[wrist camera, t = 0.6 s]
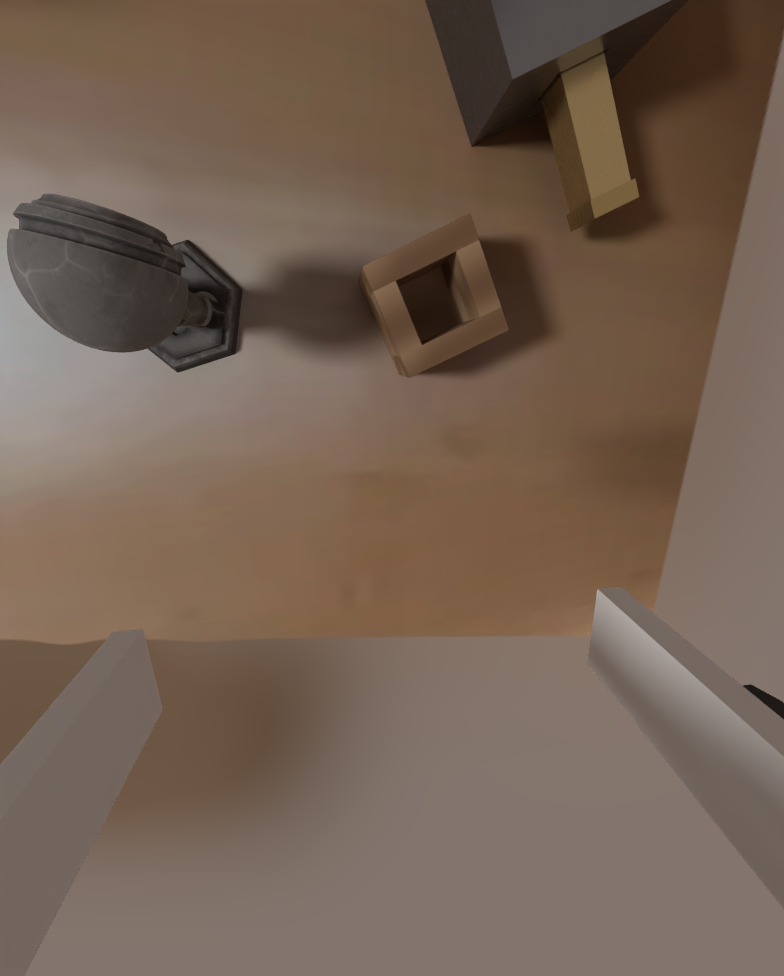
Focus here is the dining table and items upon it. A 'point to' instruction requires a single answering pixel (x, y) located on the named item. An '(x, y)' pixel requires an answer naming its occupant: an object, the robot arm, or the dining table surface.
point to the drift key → (588, 141)
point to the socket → (532, 49)
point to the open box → (434, 297)
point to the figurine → (121, 283)
